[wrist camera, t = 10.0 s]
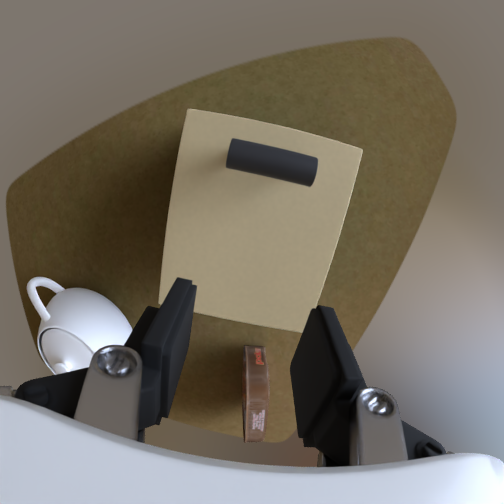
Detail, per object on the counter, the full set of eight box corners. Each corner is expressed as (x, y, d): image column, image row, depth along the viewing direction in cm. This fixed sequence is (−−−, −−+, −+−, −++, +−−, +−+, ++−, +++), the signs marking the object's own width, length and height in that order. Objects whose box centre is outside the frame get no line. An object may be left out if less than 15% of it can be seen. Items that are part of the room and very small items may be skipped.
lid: (189, 109, 19) (170, 99, 15) (359, 149, 20) (387, 151, 15) (160, 299, 24) (142, 332, 20) (305, 328, 25) (313, 365, 20)
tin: (243, 331, 36) (240, 378, 28) (269, 332, 36) (272, 379, 28) (241, 409, 41) (239, 453, 33) (262, 410, 41) (263, 453, 33)
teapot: (32, 278, 34) (-14, 314, 24) (90, 238, 32) (38, 274, 22) (114, 391, 41) (91, 440, 31) (181, 374, 39) (164, 433, 28)
